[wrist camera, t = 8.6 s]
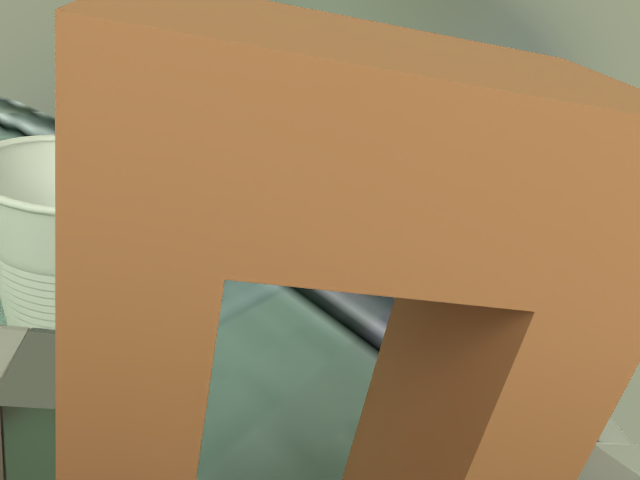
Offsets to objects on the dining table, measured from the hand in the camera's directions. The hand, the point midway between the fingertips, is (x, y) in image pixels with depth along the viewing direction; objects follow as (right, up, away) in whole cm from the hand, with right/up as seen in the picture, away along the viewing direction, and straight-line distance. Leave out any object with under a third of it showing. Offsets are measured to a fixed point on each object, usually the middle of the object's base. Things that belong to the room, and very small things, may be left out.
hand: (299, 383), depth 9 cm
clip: (-1, -6, +2) cm, 7 cm away
